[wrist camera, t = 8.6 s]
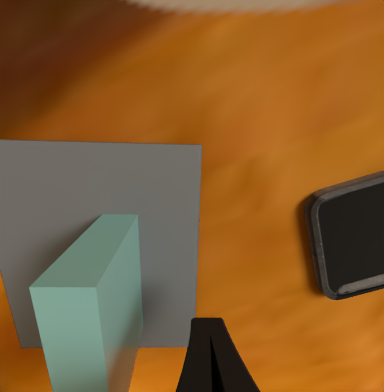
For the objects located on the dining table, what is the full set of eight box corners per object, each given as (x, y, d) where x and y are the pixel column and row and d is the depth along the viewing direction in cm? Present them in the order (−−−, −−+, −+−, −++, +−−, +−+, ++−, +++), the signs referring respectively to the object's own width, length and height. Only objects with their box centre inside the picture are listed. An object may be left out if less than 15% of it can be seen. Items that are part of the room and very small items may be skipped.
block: (143, 324, 15) (115, 449, 9) (113, 324, 15) (66, 450, 9) (137, 214, 12) (95, 287, 7) (102, 214, 12) (28, 287, 7)
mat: (193, 339, 16) (194, 347, 15) (27, 340, 15) (20, 348, 15) (201, 144, 12) (202, 145, 11) (-24, 138, 11) (-35, 139, 11)
